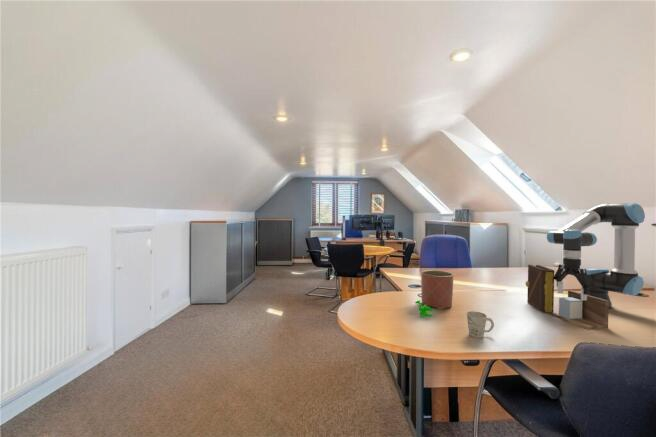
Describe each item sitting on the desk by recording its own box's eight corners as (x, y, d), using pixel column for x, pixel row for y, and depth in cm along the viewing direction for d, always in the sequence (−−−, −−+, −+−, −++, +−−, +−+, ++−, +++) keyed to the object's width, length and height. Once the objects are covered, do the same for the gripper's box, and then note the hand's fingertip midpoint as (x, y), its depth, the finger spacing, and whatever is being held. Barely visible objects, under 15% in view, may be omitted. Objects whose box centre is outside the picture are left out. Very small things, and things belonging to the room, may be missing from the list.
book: (557, 313, 169) (558, 270, 168) (540, 312, 170) (541, 270, 170) (537, 302, 190) (538, 264, 190) (523, 301, 192) (524, 263, 192)
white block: (571, 315, 163) (571, 297, 163) (582, 319, 157) (583, 300, 157) (558, 315, 162) (559, 297, 162) (569, 319, 156) (569, 300, 156)
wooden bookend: (570, 314, 167) (571, 290, 167) (608, 328, 147) (608, 300, 147) (551, 315, 166) (552, 290, 166) (587, 329, 146) (587, 301, 146)
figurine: (410, 313, 164) (413, 297, 164) (430, 316, 166) (433, 300, 166) (415, 317, 158) (418, 300, 158) (435, 320, 159) (438, 304, 160)
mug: (462, 332, 140) (463, 311, 140) (487, 331, 142) (487, 311, 141) (472, 339, 132) (473, 317, 132) (499, 338, 133) (499, 317, 133)
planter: (459, 306, 180) (459, 274, 180) (440, 311, 170) (441, 277, 169) (432, 298, 196) (433, 269, 196) (414, 303, 185) (414, 272, 185)
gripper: (546, 254, 171) (545, 290, 171) (588, 261, 146) (588, 303, 146) (557, 254, 172) (557, 290, 172) (602, 261, 147) (601, 303, 147)
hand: (571, 296), depth 159 cm, fingers open, 13 cm apart
